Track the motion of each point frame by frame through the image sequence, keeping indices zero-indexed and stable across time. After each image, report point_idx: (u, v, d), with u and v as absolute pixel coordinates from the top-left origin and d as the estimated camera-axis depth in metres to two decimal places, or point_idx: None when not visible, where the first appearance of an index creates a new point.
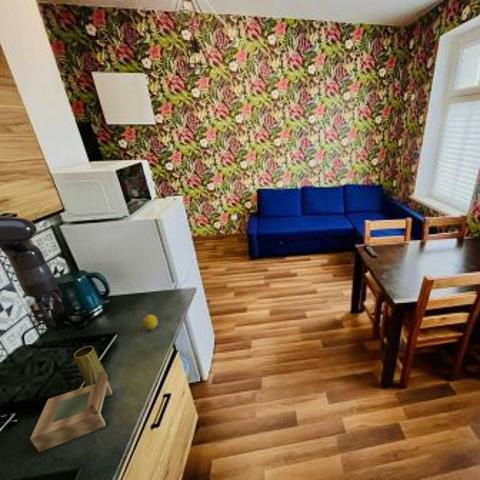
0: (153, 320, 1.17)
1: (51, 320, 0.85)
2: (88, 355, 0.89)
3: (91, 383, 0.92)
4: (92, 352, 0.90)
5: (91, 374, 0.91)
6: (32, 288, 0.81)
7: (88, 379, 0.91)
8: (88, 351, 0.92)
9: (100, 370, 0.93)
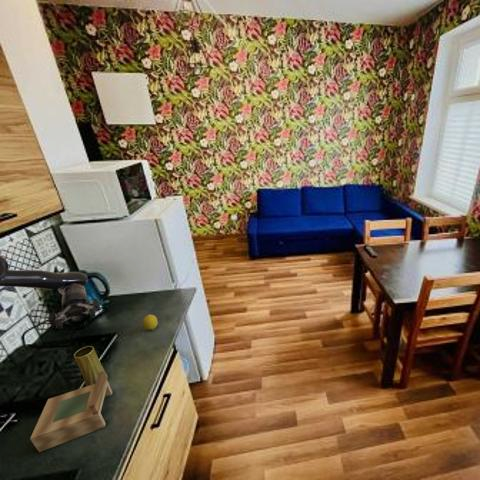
0: (153, 320, 1.17)
1: None
2: (88, 355, 0.89)
3: (91, 383, 0.92)
4: (92, 352, 0.90)
5: (91, 374, 0.91)
6: (87, 298, 1.07)
7: (88, 379, 0.91)
8: (88, 351, 0.92)
9: (100, 370, 0.93)
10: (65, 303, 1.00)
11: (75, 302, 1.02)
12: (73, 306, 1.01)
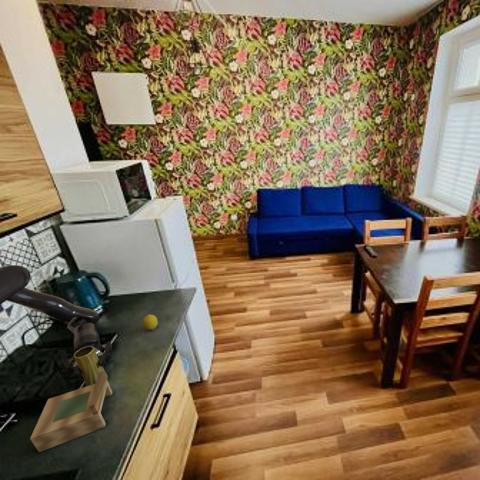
0: (153, 320, 1.17)
1: None
2: (88, 355, 0.89)
3: (91, 383, 0.92)
4: (92, 352, 0.90)
5: (91, 374, 0.91)
6: (99, 339, 1.03)
7: (88, 379, 0.91)
8: (88, 351, 0.92)
9: (100, 370, 0.93)
10: (77, 347, 0.96)
11: (88, 345, 0.98)
12: None
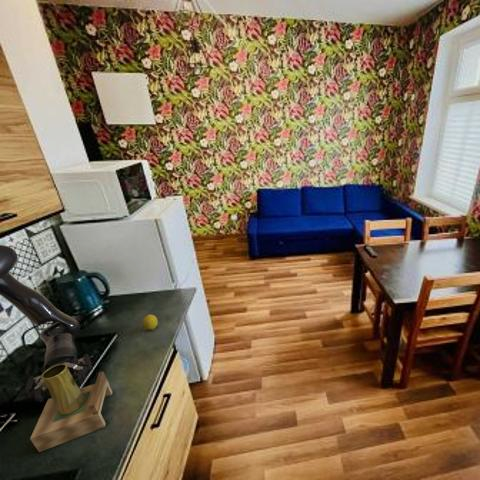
0: (153, 320, 1.17)
1: None
2: (59, 375, 0.74)
3: (64, 408, 0.77)
4: (64, 371, 0.76)
5: (64, 397, 0.76)
6: (75, 353, 0.88)
7: (60, 403, 0.76)
8: (60, 370, 0.78)
9: (75, 392, 0.79)
10: (48, 363, 0.81)
11: (61, 361, 0.83)
12: None
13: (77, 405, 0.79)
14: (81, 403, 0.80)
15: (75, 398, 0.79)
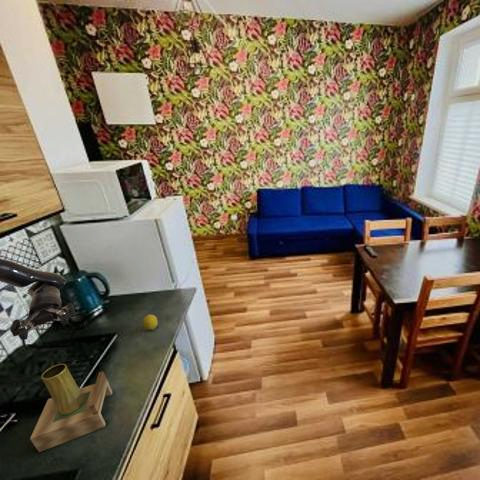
0: (153, 320, 1.17)
1: None
2: (59, 375, 0.74)
3: (64, 408, 0.77)
4: (64, 371, 0.76)
5: (64, 397, 0.76)
6: (60, 302, 0.92)
7: (60, 403, 0.76)
8: (60, 370, 0.78)
9: (75, 392, 0.79)
10: (33, 308, 0.85)
11: (45, 307, 0.87)
12: (42, 312, 0.86)
13: (77, 405, 0.79)
14: (81, 403, 0.80)
15: (75, 398, 0.79)
